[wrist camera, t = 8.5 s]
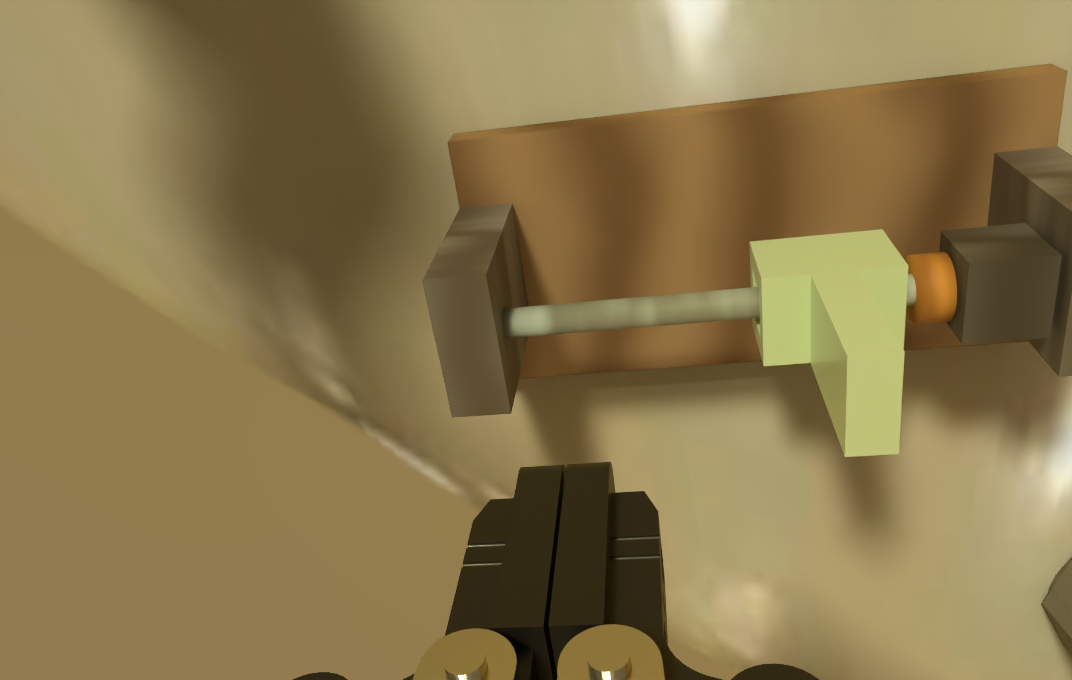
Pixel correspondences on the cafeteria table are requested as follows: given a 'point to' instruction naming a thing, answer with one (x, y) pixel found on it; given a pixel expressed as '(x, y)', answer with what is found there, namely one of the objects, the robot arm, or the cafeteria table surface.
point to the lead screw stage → (750, 226)
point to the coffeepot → (1061, 604)
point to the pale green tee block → (838, 327)
